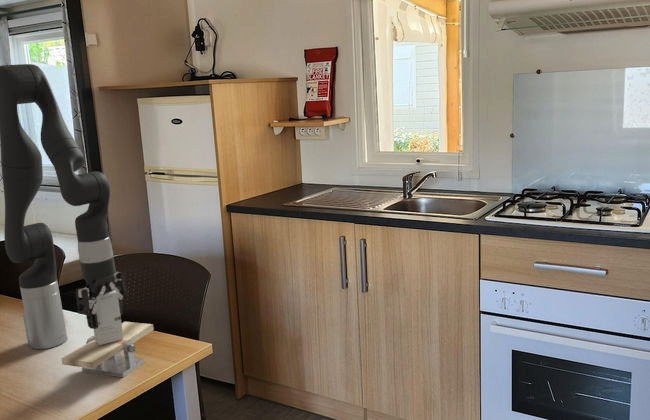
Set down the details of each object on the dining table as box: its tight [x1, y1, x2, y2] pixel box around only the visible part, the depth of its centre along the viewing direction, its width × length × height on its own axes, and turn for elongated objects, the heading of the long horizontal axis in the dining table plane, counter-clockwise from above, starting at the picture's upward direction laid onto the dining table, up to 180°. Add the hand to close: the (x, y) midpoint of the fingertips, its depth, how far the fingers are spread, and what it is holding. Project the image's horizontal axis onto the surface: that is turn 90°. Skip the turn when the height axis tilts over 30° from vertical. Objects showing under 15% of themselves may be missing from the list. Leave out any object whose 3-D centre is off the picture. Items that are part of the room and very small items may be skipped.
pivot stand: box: [81, 335, 146, 378], centre depth 151 cm, size 14×8×7 cm, turn 68°
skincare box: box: [90, 291, 123, 345], centre depth 149 cm, size 6×4×12 cm
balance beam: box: [61, 321, 155, 369], centre depth 150 cm, size 9×22×2 cm, turn 158°
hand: (106, 321), depth 149 cm, fingers open, 8 cm apart
